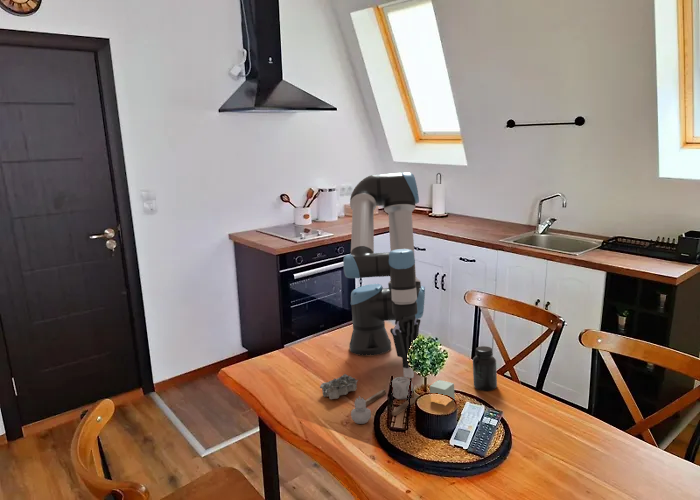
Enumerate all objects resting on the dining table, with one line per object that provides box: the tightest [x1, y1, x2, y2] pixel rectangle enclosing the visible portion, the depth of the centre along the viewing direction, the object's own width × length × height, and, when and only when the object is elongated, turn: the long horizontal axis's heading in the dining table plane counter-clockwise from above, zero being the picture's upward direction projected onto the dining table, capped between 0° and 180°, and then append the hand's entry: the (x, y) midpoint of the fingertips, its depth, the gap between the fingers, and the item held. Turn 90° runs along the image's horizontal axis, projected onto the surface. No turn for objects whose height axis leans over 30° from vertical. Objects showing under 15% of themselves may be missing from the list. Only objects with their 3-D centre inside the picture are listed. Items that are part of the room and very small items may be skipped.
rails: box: [364, 389, 416, 417], centre depth 144 cm, size 10×12×1 cm
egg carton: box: [319, 373, 359, 400], centre depth 153 cm, size 11×8×4 cm
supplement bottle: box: [472, 345, 498, 392], centre depth 150 cm, size 7×7×12 cm
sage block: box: [429, 379, 456, 401], centre depth 144 cm, size 5×5×5 cm
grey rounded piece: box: [350, 395, 372, 425], centre depth 135 cm, size 5×7×8 cm
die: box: [391, 376, 414, 400], centre depth 149 cm, size 5×5×5 cm
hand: (408, 376), depth 152 cm, fingers closed
